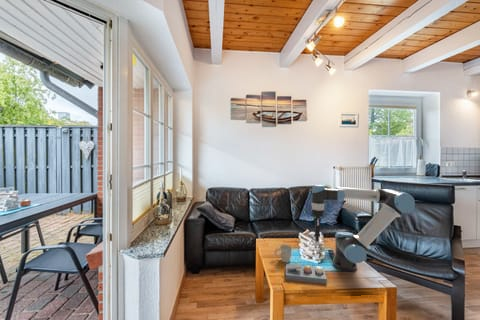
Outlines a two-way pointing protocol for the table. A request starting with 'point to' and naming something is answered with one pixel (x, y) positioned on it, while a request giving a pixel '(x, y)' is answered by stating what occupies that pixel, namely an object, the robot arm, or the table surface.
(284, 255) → the mug
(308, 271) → the button terracotta
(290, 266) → the rocker
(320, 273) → the button cream
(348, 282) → the table surface
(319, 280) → the panel
